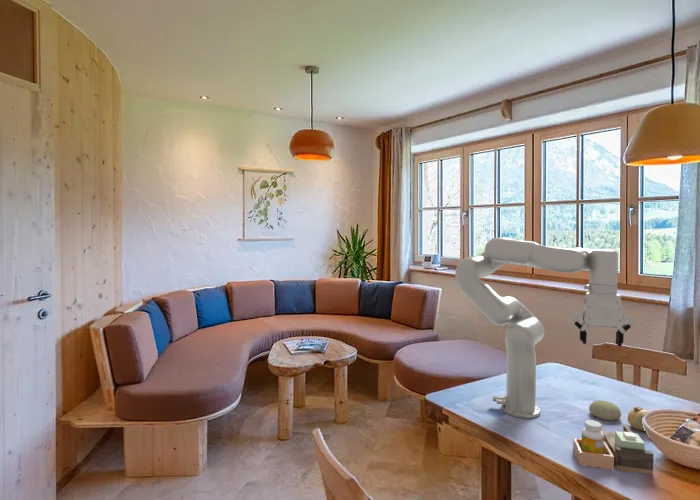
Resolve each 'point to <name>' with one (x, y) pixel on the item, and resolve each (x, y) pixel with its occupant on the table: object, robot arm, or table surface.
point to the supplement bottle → (592, 438)
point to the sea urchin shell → (605, 410)
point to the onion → (637, 417)
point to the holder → (593, 456)
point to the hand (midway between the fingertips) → (600, 343)
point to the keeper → (628, 440)
